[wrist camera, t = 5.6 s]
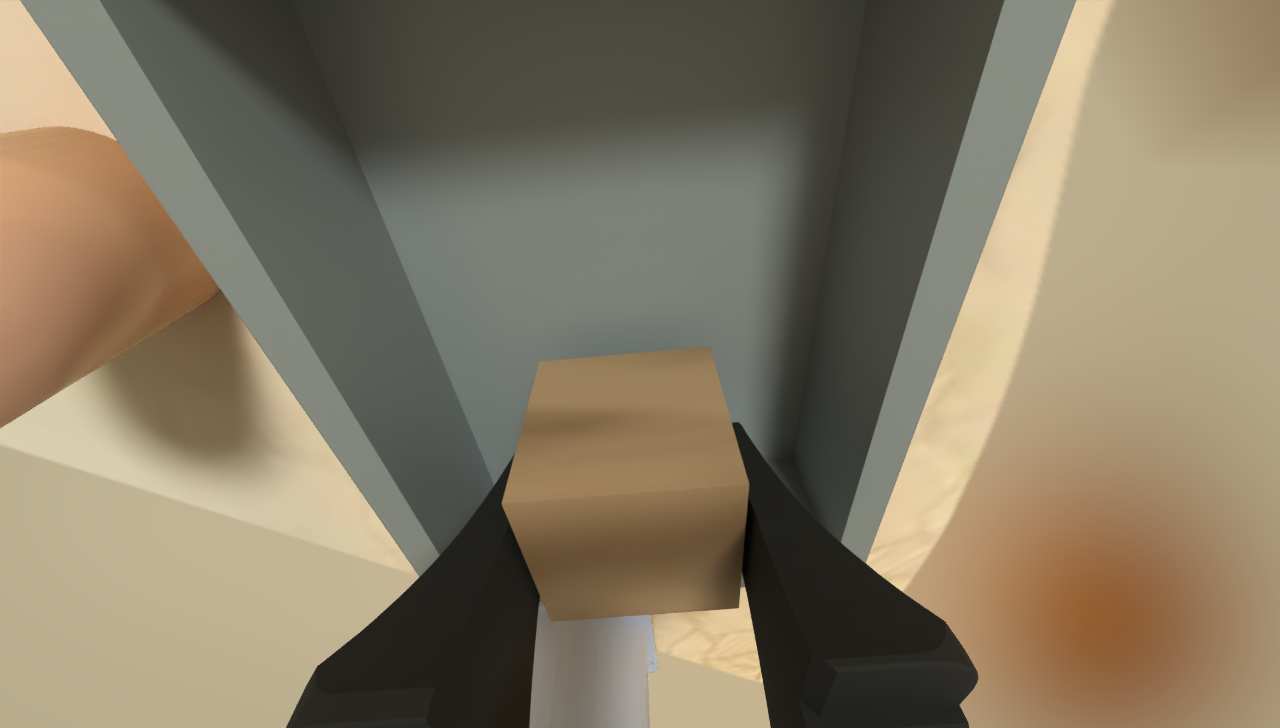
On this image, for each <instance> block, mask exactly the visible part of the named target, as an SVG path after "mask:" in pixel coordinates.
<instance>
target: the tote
mask: <svg viewBox="0 0 1280 728" xmlns="http://www.w3.org/2000/svg"><path fill="white" fill-rule="evenodd" d="M20 1H21V2H22V4H23V5H24V7H25V8H26V9H27V11H28V12H29V14H30V15H31V17H32V18H33V20H34V21H35V22H36V24H37V25H38V27H39V28H40V30H41V31H42V33H43V34H44V35H45V37H46V38H47V40H48V41H49V43H50V44H51V46H52V47H53V48H54V50H55V51H56V53H57V54H58V56H59V57H60V59H61V60H62V61H63V63H64V64H65V66H66V67H67V69H68V70H69V72H70V73H71V74H72V76H73V77H74V79H75V80H76V82H77V83H78V85H79V86H80V87H81V89H82V90H83V92H84V93H85V95H86V96H87V98H88V99H89V100H90V102H91V103H92V105H93V106H94V108H95V109H96V111H97V112H98V113H99V115H100V116H101V118H102V119H103V121H104V122H105V124H106V125H107V126H108V128H109V129H110V131H111V132H112V134H113V135H114V137H115V138H116V139H117V141H118V142H119V144H120V145H121V147H122V148H123V149H124V151H125V152H126V154H127V155H128V157H129V158H130V160H131V161H132V162H133V164H134V165H135V167H136V168H137V170H138V171H139V173H140V174H141V175H142V177H143V178H144V180H145V181H146V183H147V184H148V186H149V187H150V188H151V190H152V191H153V193H154V194H155V196H156V197H157V199H158V200H159V201H160V203H161V204H162V206H163V207H164V209H165V210H166V212H167V213H168V214H169V216H170V217H171V219H172V220H173V222H174V223H175V225H176V226H177V227H178V229H179V230H180V232H181V233H182V235H183V236H184V238H185V239H186V240H187V242H188V243H189V245H190V246H191V248H192V249H193V251H194V252H195V253H196V255H197V256H198V258H199V259H200V261H201V262H202V264H203V265H204V266H205V268H206V269H207V271H208V272H209V274H210V275H211V277H212V278H213V279H214V281H215V282H216V284H217V285H218V287H219V288H220V289H221V291H222V292H223V294H224V295H225V297H226V298H227V300H228V301H229V302H230V304H231V305H232V307H233V308H234V310H235V311H236V313H237V314H238V315H239V317H240V318H241V320H242V321H243V323H244V324H245V326H246V327H247V328H248V330H249V331H250V333H251V334H252V336H253V337H254V339H255V340H256V341H257V343H258V344H259V346H260V347H261V349H262V350H263V352H264V353H265V354H266V356H267V357H268V359H269V360H270V362H271V363H272V365H273V366H274V367H275V369H276V370H277V372H278V373H279V375H280V376H281V378H282V379H283V380H284V382H285V383H286V385H287V386H288V388H289V389H290V391H291V392H292V393H293V395H294V396H295V398H296V399H297V401H298V402H299V404H300V405H301V406H302V408H303V409H304V411H305V412H306V414H307V415H308V417H309V418H310V419H311V421H312V422H313V424H314V425H315V427H316V428H317V429H318V431H319V432H320V434H321V435H322V437H323V438H324V440H325V441H326V442H327V444H328V445H329V447H330V448H331V450H332V451H333V453H334V454H335V455H336V457H337V458H338V460H339V461H340V463H341V464H342V466H343V467H344V468H345V470H346V471H347V473H348V474H349V476H350V477H351V479H352V480H353V481H354V483H355V484H356V486H357V487H358V489H359V490H360V492H361V493H362V494H363V496H364V497H365V499H366V500H367V502H368V503H369V505H370V506H371V507H372V509H373V510H374V512H375V513H376V515H377V516H378V518H379V519H380V520H381V522H382V523H383V525H384V526H385V528H386V529H387V531H388V532H389V533H390V535H391V536H392V538H393V539H394V541H395V542H396V544H397V545H398V546H399V548H400V549H401V551H402V552H403V554H404V555H405V557H406V558H407V559H408V561H409V562H410V564H411V565H412V567H413V568H414V569H415V571H416V572H417V574H418V575H419V577H420V576H421V575H422V574H423V573H424V572H425V571H426V570H427V569H428V568H429V567H430V566H431V565H432V564H433V562H434V561H435V560H436V559H437V558H438V557H439V556H440V555H441V554H442V552H443V551H444V550H445V549H446V548H447V547H448V546H449V544H450V543H451V542H452V541H453V540H454V539H455V537H456V536H457V535H458V534H459V532H460V531H461V530H462V529H463V527H464V526H465V525H466V523H467V522H468V521H469V520H470V518H471V517H472V516H473V514H474V513H475V512H476V510H477V509H478V508H479V506H480V505H481V504H482V502H483V501H484V499H485V498H486V496H487V495H488V493H489V492H490V491H491V489H492V488H493V486H494V485H495V483H496V482H497V480H498V479H499V477H500V476H501V474H502V473H503V471H504V470H505V468H506V466H507V465H508V463H509V462H510V460H511V458H512V457H513V455H514V453H515V451H516V448H517V444H518V440H519V436H520V432H521V429H522V425H523V421H524V417H525V414H526V410H527V406H528V402H529V398H530V395H531V391H532V387H533V383H534V379H535V376H536V372H537V368H538V364H539V362H541V361H552V360H564V359H575V358H586V357H598V356H609V355H621V354H632V353H643V352H655V351H666V350H678V349H689V348H700V347H710V349H711V352H712V356H713V359H714V363H715V366H716V370H717V373H718V377H719V380H720V384H721V387H722V391H723V394H724V398H725V401H726V405H727V408H728V412H729V415H730V419H731V422H732V423H733V422H739V423H740V424H741V425H742V426H743V428H744V429H745V431H746V433H747V434H748V436H749V437H750V439H751V440H752V442H753V443H754V445H755V446H756V448H757V449H758V451H759V452H760V453H761V455H762V456H763V458H764V459H765V460H766V462H767V463H768V464H769V466H770V467H771V468H772V469H773V471H774V472H775V473H776V474H777V476H778V477H779V478H780V479H781V481H782V482H783V483H784V484H785V485H786V487H787V488H788V489H789V490H790V491H791V492H792V494H793V495H794V496H795V497H796V498H797V499H798V500H799V501H800V503H801V504H802V505H803V506H804V507H805V508H806V509H807V510H808V511H809V512H810V513H811V514H812V515H813V516H814V517H815V518H816V519H817V520H818V521H819V522H820V523H821V524H822V525H823V526H824V527H825V528H826V529H827V530H828V531H829V532H830V533H831V534H832V535H833V536H834V537H836V538H837V539H838V540H839V541H840V542H841V543H842V544H843V545H844V546H845V547H847V548H848V549H849V550H850V551H851V552H853V553H854V554H855V555H856V556H857V557H859V558H860V559H861V560H862V561H863V562H865V563H866V561H867V558H868V555H869V553H870V550H871V547H872V545H873V542H874V539H875V537H876V534H877V531H878V529H879V526H880V523H881V521H882V518H883V515H884V513H885V510H886V507H887V504H888V502H889V499H890V496H891V494H892V491H893V488H894V486H895V483H896V480H897V478H898V475H899V472H900V470H901V467H902V464H903V462H904V459H905V456H906V454H907V451H908V448H909V446H910V443H911V440H912V438H913V435H914V432H915V430H916V427H917V424H918V422H919V419H920V416H921V414H922V411H923V408H924V406H925V403H926V400H927V398H928V395H929V392H930V390H931V387H932V384H933V382H934V379H935V376H936V374H937V371H938V368H939V366H940V363H941V360H942V358H943V355H944V352H945V350H946V347H947V344H948V342H949V339H950V336H951V334H952V331H953V328H954V326H955V323H956V320H957V317H958V315H959V312H960V309H961V307H962V304H963V301H964V299H965V296H966V293H967V291H968V288H969V285H970V283H971V280H972V277H973V275H974V272H975V269H976V267H977V264H978V261H979V259H980V256H981V253H982V251H983V248H984V245H985V243H986V240H987V237H988V235H989V232H990V229H991V227H992V224H993V221H994V219H995V216H996V213H997V211H998V208H999V205H1000V203H1001V200H1002V197H1003V195H1004V192H1005V189H1006V187H1007V184H1008V181H1009V179H1010V176H1011V173H1012V171H1013V168H1014V165H1015V163H1016V160H1017V157H1018V155H1019V152H1020V149H1021V147H1022V144H1023V141H1024V139H1025V136H1026V133H1027V131H1028V128H1029V125H1030V122H1031V120H1032V117H1033V114H1034V112H1035V109H1036V106H1037V104H1038V101H1039V98H1040V96H1041V93H1042V90H1043V88H1044V85H1045V82H1046V80H1047V77H1048V74H1049V72H1050V69H1051V66H1052V64H1053V61H1054V58H1055V56H1056V53H1057V50H1058V48H1059V45H1060V42H1061V40H1062V37H1063V34H1064V32H1065V29H1066V26H1067V24H1068V21H1069V18H1070V16H1071V13H1072V10H1073V8H1074V5H1075V2H1076V0H20ZM740 587H745V584H744V580H743V575H741V586H740ZM540 602H542V599H541V597H540Z"/></svg>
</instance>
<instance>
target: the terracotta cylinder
mask: <svg viewBox="0 0 1280 728" xmlns="http://www.w3.org/2000/svg"><path fill="white" fill-rule="evenodd" d="M219 290H220V288H219V287H218V285H217V284H216V282H215V281H214V279H213V278H212V277H211V275H210V274H209V272H208V271H207V269H206V268H205V266H204V265H203V264H202V262H201V261H200V259H199V258H198V256H197V255H196V253H195V252H194V251H193V249H192V248H191V246H190V245H189V243H188V242H187V240H186V239H185V238H184V236H183V235H182V233H181V232H180V230H179V229H178V227H177V226H176V225H175V223H174V222H173V220H172V219H171V217H170V216H169V214H168V213H167V212H166V210H165V209H164V207H163V206H162V204H161V203H160V201H159V200H158V199H157V197H156V196H155V194H154V193H153V191H152V190H151V188H150V187H149V186H148V184H147V183H146V181H145V180H144V178H143V177H142V175H141V174H140V173H139V171H138V170H137V168H136V167H135V165H134V164H133V162H132V161H131V160H130V158H129V157H128V155H127V154H126V152H125V151H124V149H123V148H122V147H121V145H120V144H119V142H118V141H115V140H113V139H111V138H108V137H106V136H103V135H100V134H97V133H94V132H91V131H86V130H82V129H77V128H70V127H43V128H36V129H29V130H22V131H15V132H8V133H1V134H0V428H1V427H3V426H5V425H6V424H8V423H10V422H11V421H13V420H14V419H16V418H18V417H19V416H21V415H23V414H24V413H26V412H27V411H29V410H31V409H32V408H34V407H36V406H37V405H39V404H40V403H42V402H44V401H45V400H47V399H49V398H50V397H52V396H53V395H55V394H57V393H58V392H60V391H62V390H63V389H65V388H66V387H68V386H70V385H71V384H73V383H74V382H76V381H78V380H79V379H81V378H83V377H84V376H86V375H87V374H89V373H91V372H92V371H94V370H96V369H97V368H99V367H100V366H102V365H104V364H105V363H107V362H109V361H110V360H112V359H113V358H115V357H117V356H118V355H120V354H122V353H123V352H125V351H126V350H128V349H130V348H131V347H133V346H135V345H136V344H138V343H139V342H141V341H143V340H144V339H146V338H148V337H149V336H151V335H152V334H154V333H156V332H157V331H159V330H161V329H162V328H164V327H165V326H167V325H169V324H170V323H172V322H174V321H175V320H177V319H178V318H180V317H182V316H183V315H185V314H186V313H188V312H190V311H191V310H193V309H195V308H196V307H198V306H199V305H201V304H203V303H204V302H206V301H208V300H209V299H211V298H212V297H213V296H214V295H216V294H217V293H218V292H219Z"/></svg>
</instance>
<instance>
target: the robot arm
mask: <svg viewBox="0 0 1280 728" xmlns="http://www.w3.org/2000/svg"><path fill="white" fill-rule="evenodd" d="M732 426H733V429H734V433H735V436H736V440H737V443H738V446H739V450H740V453H741V457H742V460H743V464H744V467H745V471H746V474H747V478H748V481H749V493H748V505H747V517H746V528H745V540H744V551H743V563H742V575H743V580H744V584H745V588H746V592H747V597H748V602H749V607H750V613H751V618H752V623H753V628H754V634H755V639H756V645H757V650H758V656H759V661H760V667H761V673H762V678H763V684H764V690H765V695H766V701H767V707H768V713H769V719H770V726H771V728H969V724H968V721H967V719H966V717H965V715H964V713H963V711H962V709H961V708H960V703H961V702H962V701H963V700H964V699H965V698H966V697H967V696H968V695H969V693H970V692H971V691H972V690H973V689H974V687H975V685H976V683H977V681H978V673H977V670H976V669H975V667H974V665H973V663H972V662H971V660H970V658H969V656H968V654H967V653H966V651H965V650H964V648H963V647H962V645H961V644H960V642H959V641H958V639H957V638H956V636H955V635H954V634H953V632H952V631H951V629H950V628H949V626H948V625H947V624H946V622H945V621H944V620H942V619H941V618H939V617H938V616H936V615H935V614H933V613H932V612H930V611H929V610H927V609H926V608H924V607H923V606H921V605H920V604H919V603H917V602H916V601H914V600H913V599H911V598H910V597H908V596H907V595H905V594H904V593H903V592H902V591H900V590H899V589H898V588H896V587H895V586H894V585H892V584H891V583H890V582H888V581H887V580H886V579H884V578H883V577H882V576H880V575H879V574H878V573H877V572H875V571H874V570H873V569H872V568H871V567H869V566H868V565H867V564H866V563H865V562H863V561H862V560H861V559H860V558H859V557H857V556H856V555H855V554H854V553H853V552H851V551H850V550H849V549H848V548H847V547H845V546H844V545H843V544H842V543H841V542H840V541H839V540H838V539H837V538H836V537H834V536H833V535H832V534H831V533H830V532H829V531H828V530H827V529H826V528H825V527H824V526H823V525H822V524H821V523H820V522H819V521H818V520H817V519H816V518H815V517H814V516H813V515H812V514H811V513H810V512H809V511H808V510H807V509H806V508H805V507H804V506H803V505H802V504H801V503H800V501H799V500H798V499H797V498H796V497H795V496H794V495H793V494H792V492H791V491H790V490H789V489H788V488H787V487H786V485H785V484H784V483H783V482H782V481H781V479H780V478H779V477H778V476H777V474H776V473H775V472H774V471H773V469H772V468H771V467H770V466H769V464H768V463H767V462H766V460H765V459H764V458H763V456H762V455H761V453H760V452H759V451H758V449H757V448H756V446H755V445H754V443H753V442H752V440H751V439H750V437H749V436H748V434H747V433H746V431H745V429H744V428H743V426H742V425H741V424H740V423H739V422H733V423H732ZM514 455H515V453H514ZM514 455H513V457H512V458H511V460H510V462H509V463H508V465H507V466H506V468H505V470H504V471H503V473H502V474H501V476H500V477H499V479H498V480H497V482H496V483H495V485H494V486H493V488H492V489H491V491H490V492H489V493H488V495H487V496H486V498H485V499H484V501H483V502H482V504H481V505H480V506H479V508H478V509H477V510H476V512H475V513H474V514H473V516H472V517H471V518H470V520H469V521H468V522H467V523H466V525H465V526H464V527H463V529H462V530H461V531H460V532H459V534H458V535H457V536H456V537H455V539H454V540H453V541H452V542H451V543H450V544H449V546H448V547H447V548H446V549H445V550H444V551H443V552H442V554H441V555H440V556H439V557H438V558H437V559H436V560H435V561H434V562H433V564H432V565H431V566H430V567H429V568H428V569H427V570H426V571H425V572H424V573H423V574H422V575H421V576H420V577H419V578H418V579H417V580H416V581H415V582H414V583H413V584H412V585H411V586H410V587H409V589H407V590H406V591H405V592H404V593H403V594H402V595H401V596H400V597H399V598H398V599H397V600H396V601H395V602H393V603H392V604H391V605H390V606H389V607H388V608H387V609H386V610H385V611H384V612H383V613H381V614H380V615H379V616H378V617H377V618H376V619H375V620H374V621H373V622H372V623H370V624H369V625H368V626H367V627H366V628H365V629H363V630H362V631H361V632H360V633H359V634H358V635H356V636H355V637H354V638H352V639H351V640H350V641H349V642H347V643H346V644H345V645H344V646H342V647H341V648H340V649H339V650H337V651H336V652H335V653H334V654H332V655H331V656H330V657H329V658H327V659H326V660H325V661H324V662H322V663H321V664H320V665H318V666H317V668H316V670H315V671H314V673H313V675H312V677H311V679H310V680H309V682H308V684H307V685H306V688H305V689H304V692H303V694H302V696H301V698H300V700H299V702H298V704H297V706H296V708H295V710H294V713H293V715H292V716H291V719H290V721H289V723H288V725H287V727H286V728H650V722H649V700H648V699H649V698H648V697H649V696H648V673H652V672H655V671H657V670H658V660H657V653H656V646H655V639H654V632H653V626H652V619H651V615H638V616H624V617H610V618H597V619H583V620H569V621H556V622H551V621H550V618H549V616H548V613H547V611H546V609H545V606H544V604H543V602H540V594H539V592H538V590H537V587H536V585H535V583H534V580H533V578H532V575H531V573H530V571H529V568H528V566H527V563H526V561H525V559H524V556H523V554H522V552H521V549H520V547H519V544H518V542H517V540H516V537H515V535H514V532H513V530H512V528H511V525H510V523H509V521H508V518H507V516H506V513H505V511H504V509H503V506H502V500H503V497H504V493H505V489H506V485H507V482H508V478H509V474H510V470H511V466H512V463H513V459H514Z"/></svg>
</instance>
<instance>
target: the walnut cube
mask: <svg viewBox="0 0 1280 728" xmlns="http://www.w3.org/2000/svg"><path fill="white" fill-rule="evenodd" d="M748 493H749V481H748V478H747V474H746V471H745V467H744V464H743V460H742V457H741V453H740V450H739V446H738V443H737V440H736V436H735V433H734V429H733V426H732V422H731V419H730V415H729V412H728V408H727V405H726V401H725V398H724V394H723V391H722V387H721V384H720V380H719V377H718V373H717V370H716V366H715V363H714V359H713V356H712V352H711V349H710V347H700V348H689V349H678V350H666V351H655V352H643V353H632V354H621V355H609V356H598V357H586V358H575V359H564V360H552V361H541V362H539V364H538V368H537V372H536V376H535V379H534V383H533V387H532V391H531V395H530V398H529V402H528V406H527V410H526V414H525V417H524V421H523V425H522V429H521V432H520V436H519V440H518V444H517V448H516V451H515V455H514V459H513V463H512V466H511V470H510V474H509V478H508V482H507V485H506V489H505V493H504V497H503V500H502V506H503V509H504V511H505V513H506V516H507V518H508V521H509V523H510V525H511V528H512V530H513V532H514V535H515V537H516V540H517V542H518V544H519V547H520V549H521V552H522V554H523V556H524V559H525V561H526V563H527V566H528V568H529V571H530V573H531V575H532V578H533V580H534V583H535V585H536V587H537V590H538V592H539V594H540V597H541V599H542V602H543V604H544V606H545V609H546V611H547V613H548V616H549V618H550V621H551V622H556V621H569V620H583V619H597V618H610V617H624V616H638V615H651V614H665V613H679V612H692V611H706V610H719V609H733V608H739V598H740V586H741V575H742V563H743V551H744V540H745V528H746V517H747V505H748Z"/></svg>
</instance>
